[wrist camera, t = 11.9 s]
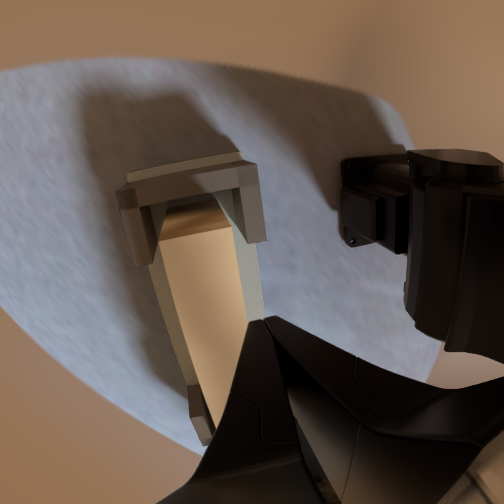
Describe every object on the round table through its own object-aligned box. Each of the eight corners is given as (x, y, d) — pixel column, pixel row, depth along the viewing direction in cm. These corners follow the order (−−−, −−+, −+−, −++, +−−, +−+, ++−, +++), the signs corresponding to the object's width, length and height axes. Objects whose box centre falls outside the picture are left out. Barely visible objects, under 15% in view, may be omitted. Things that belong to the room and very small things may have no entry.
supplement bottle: (279, 457, 31) (309, 539, 20) (245, 438, 28) (273, 536, 17) (328, 429, 31) (370, 510, 20) (299, 406, 28) (346, 504, 17)
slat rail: (239, 151, 19) (255, 154, 15) (274, 395, 26) (288, 430, 22) (129, 172, 18) (113, 181, 14) (199, 411, 25) (204, 449, 21)
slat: (216, 198, 18) (231, 226, 13) (251, 390, 24) (270, 450, 18) (167, 208, 18) (158, 241, 12) (216, 397, 24) (228, 459, 18)
